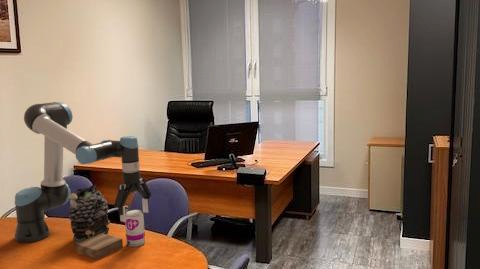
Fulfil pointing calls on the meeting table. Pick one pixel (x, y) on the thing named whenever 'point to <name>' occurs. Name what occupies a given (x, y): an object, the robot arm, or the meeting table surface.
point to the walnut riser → (99, 246)
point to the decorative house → (88, 214)
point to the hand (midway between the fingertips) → (134, 216)
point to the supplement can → (135, 228)
